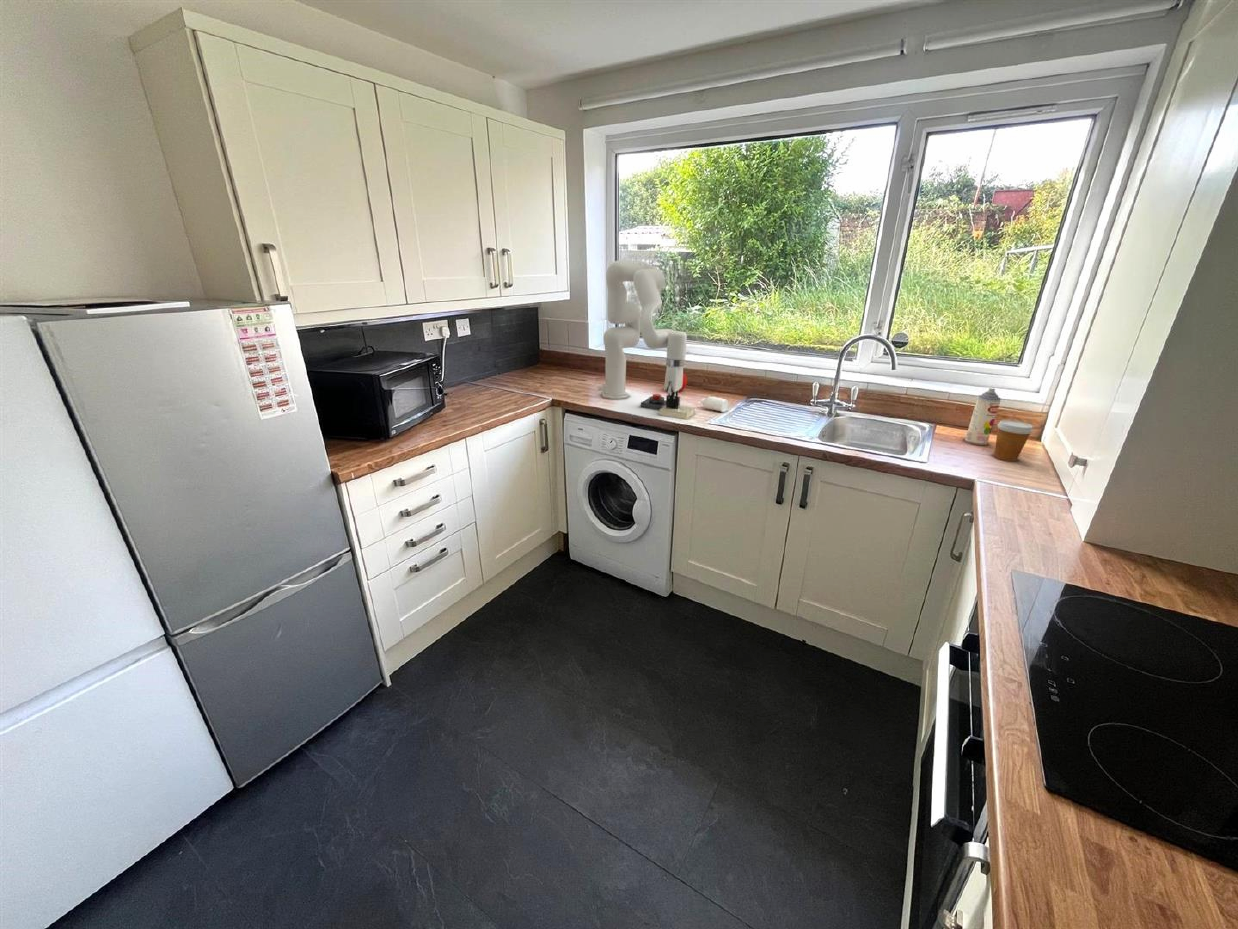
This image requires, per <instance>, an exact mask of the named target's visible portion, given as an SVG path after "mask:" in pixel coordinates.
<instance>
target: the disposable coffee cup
mask: <svg viewBox="0 0 1238 929" xmlns="http://www.w3.org/2000/svg"><path fill="white" fill-rule="evenodd" d="M1033 427H1034V426H1033V424H1030V423H1027V422H1024V421H1019V420H1013V419H1012V420H1011V419H1002V420H1000V421H999V423H997V433H996V438H995V445H994V452H993V457H994V458H996V459H998V460H1001V461H1006V462H1016V461H1017V460H1018V458H1019V457H1020V454H1021V453H1022V452H1023V451H1022V450H1023V448H1024V446H1026V443H1027V442H1028V439H1029V437H1030V435H1031V434H1032V433H1033V432H1034V429H1033Z"/></svg>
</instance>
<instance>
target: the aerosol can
mask: <svg viewBox="0 0 1238 929" xmlns="http://www.w3.org/2000/svg"><path fill="white" fill-rule="evenodd" d="M1000 404H1001V397H999V395H998V394H997V392H996V388H993V387H989V388H988V389H987V391H984V392H982V394H979V395H978V397H977V398H976V401H975V405H974V408H973V412H972V415H971V417H970V418H971V419H970V421H969V425H968V429H967V432H966V436H965V439H964V442H965V443H967V444H970V445H973V446H974V445H975V446H987V445H988V443H989V439H990V436H991V433H992V429H993V428H994V427H993V426H994V424H995V420H996V417H997V414H998V410H999V408H1000Z"/></svg>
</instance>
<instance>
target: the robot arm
mask: <svg viewBox="0 0 1238 929" xmlns="http://www.w3.org/2000/svg"><path fill="white" fill-rule="evenodd" d="M665 277H666V276H665V274H664V273H663V271H662V270H661V269H659V268H657V267H655V266H653V265H651V264H650V263H648V262H645V261H642V260H631V259H630V260H629V259H620V260H619V259H618V260H615V261H613V262H611V263H610V264H609V265H608V267H607V269H606V272H605V281H606V288H607V297H606V298H607V300H606V301H607V302H606V303H607V304H606V306H607V307H606V308H607V309H606V310H607V313H606V315H607V317H606V318H607V320H608V322H609V323H610V324H612V325H624V326H615V327H610V328H608V329H606V331H605V332H603V344H604V352H605V353H604V354H605V365H604V366H605V370H604V372H605V373H604V376H605V377H604V384H605V385H599V384H598V386H597V390H598V391H602V393H601V397H602V398H605V399H611V400H624V399H627V398H629V393H628V392H626V383H627V382H626V381H627V379H626V377H627V355H626V353H625V352H624V349H629V348H634V347H636V346H637V345H638V344H639V342H640V339H641V338H640V337H642V339H643V342H644V344H645V345H646V347H647V348H649V349H650V350H651V349H652V350H657V349H666V361H665V362H666V364H665V367H666V370H665V375H666V376H664V379H665V382H664V384H663V389H664V392H667V395H668V407H669V408H676V399H675V397H676V396H680V391H679V390H680V389H681V388H682V383H683V373H684V368H685V367H686V354H687V340H688V336H687V333H686V332H685V331H680V330H673V329H672V328H659V329H658V328H657V329H655V326H654V323H653V315H654V312H656V311H657V310H658V309H660V308H661V306H662V305H663V301H662V299H661V295H660V293H659V291H660V290H662V289H663V288H664V287H665V284H666V278H665ZM624 282H631V283H633V286H634V289H635V293H636V294H637V298H638V300H639V301H638V302H639V303H640V307H641V309H642V310H641V309H640V307H639V305H638V304H637V303H636V302H635V301H628V300H627V299H628V298H627V297H628V291H627V287H626V285H625V283H624Z"/></svg>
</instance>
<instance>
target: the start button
mask: <svg viewBox="0 0 1238 929" xmlns="http://www.w3.org/2000/svg"><path fill="white" fill-rule="evenodd" d="M652 396H653V399H661V397H662V395H661V394H660V393H653V394H652Z"/></svg>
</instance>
